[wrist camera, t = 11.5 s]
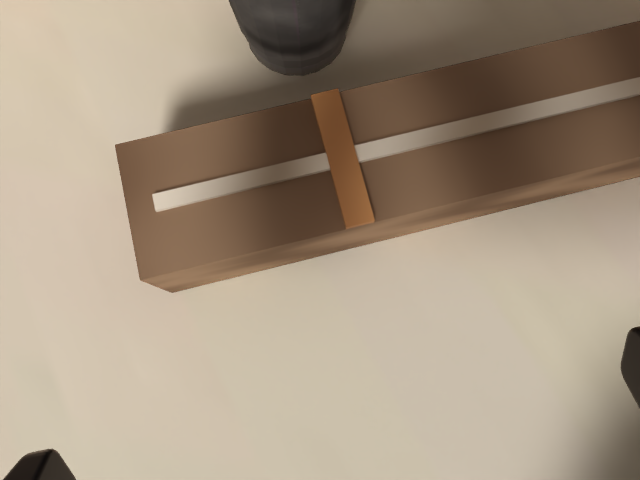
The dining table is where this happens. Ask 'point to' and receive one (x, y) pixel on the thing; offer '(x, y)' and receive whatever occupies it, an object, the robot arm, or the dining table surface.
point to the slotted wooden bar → (383, 159)
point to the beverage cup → (294, 31)
